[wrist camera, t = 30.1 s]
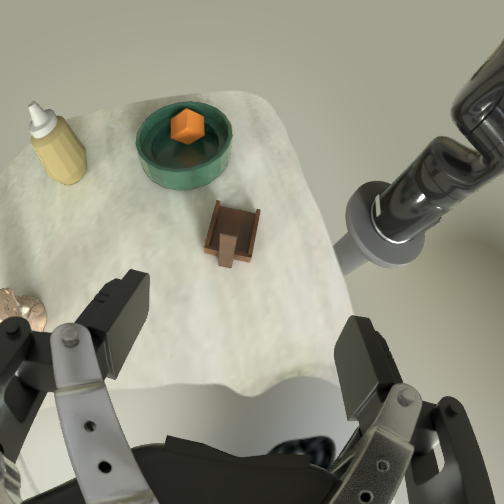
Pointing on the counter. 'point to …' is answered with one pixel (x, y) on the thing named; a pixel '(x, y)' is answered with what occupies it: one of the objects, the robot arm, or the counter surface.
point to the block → (187, 127)
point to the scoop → (231, 234)
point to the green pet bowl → (184, 148)
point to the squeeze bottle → (57, 146)
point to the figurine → (22, 309)
